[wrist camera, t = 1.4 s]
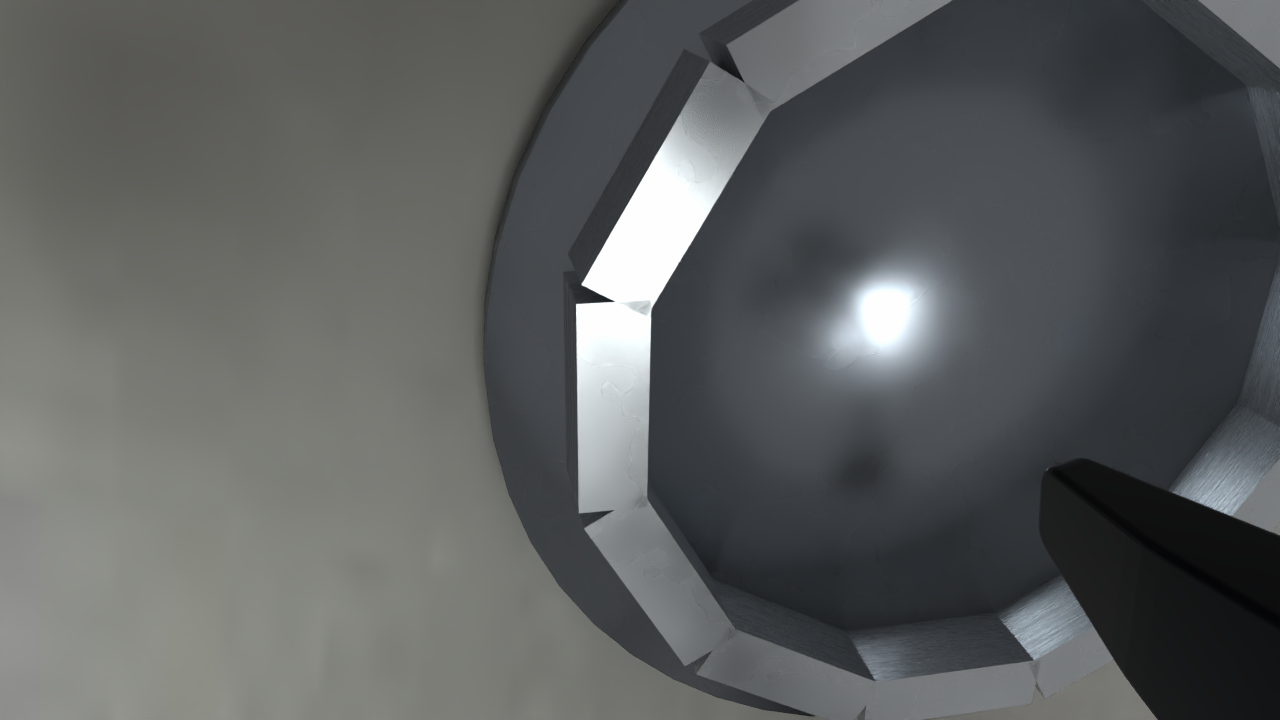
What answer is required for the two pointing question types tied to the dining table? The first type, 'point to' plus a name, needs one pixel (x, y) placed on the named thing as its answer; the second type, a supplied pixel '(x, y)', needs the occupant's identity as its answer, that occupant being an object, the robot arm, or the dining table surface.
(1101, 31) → the grey round dish
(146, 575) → the dining table surface
